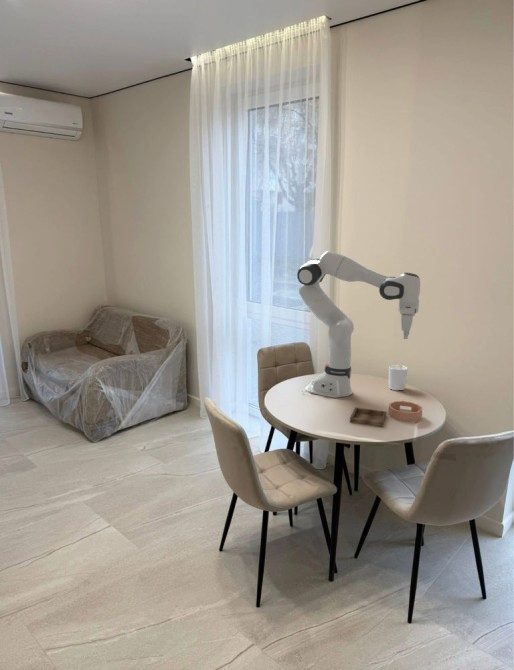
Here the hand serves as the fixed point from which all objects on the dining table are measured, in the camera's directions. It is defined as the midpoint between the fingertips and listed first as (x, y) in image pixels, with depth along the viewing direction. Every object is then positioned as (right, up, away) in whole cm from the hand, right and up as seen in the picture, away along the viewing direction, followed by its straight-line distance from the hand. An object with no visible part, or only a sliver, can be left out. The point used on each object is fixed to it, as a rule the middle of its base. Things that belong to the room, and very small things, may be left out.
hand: (406, 336), depth 232 cm
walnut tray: (-21, -38, -13) cm, 45 cm away
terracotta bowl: (-3, -37, -8) cm, 38 cm away
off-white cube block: (-3, -36, -8) cm, 37 cm away
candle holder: (+4, -28, +31) cm, 42 cm away
